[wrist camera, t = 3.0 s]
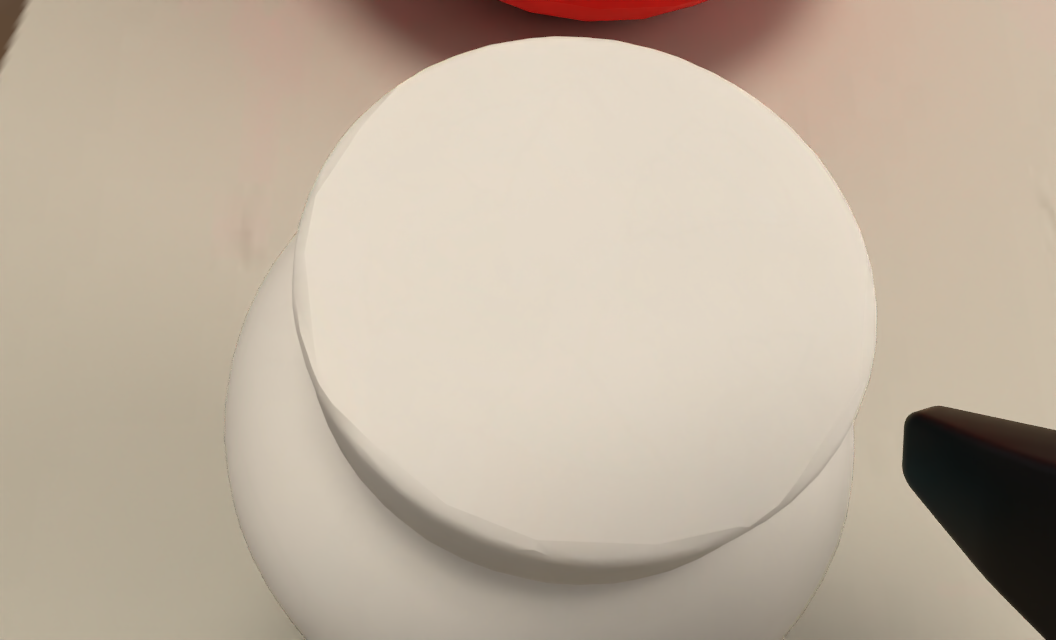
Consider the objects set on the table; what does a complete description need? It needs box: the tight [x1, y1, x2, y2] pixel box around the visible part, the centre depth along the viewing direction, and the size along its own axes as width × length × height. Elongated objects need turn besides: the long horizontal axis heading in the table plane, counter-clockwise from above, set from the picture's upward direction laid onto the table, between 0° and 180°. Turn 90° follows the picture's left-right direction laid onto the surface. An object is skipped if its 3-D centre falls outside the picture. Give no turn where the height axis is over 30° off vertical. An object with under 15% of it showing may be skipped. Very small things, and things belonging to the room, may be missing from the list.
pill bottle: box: [224, 36, 877, 640], centre depth 12 cm, size 8×7×14 cm
